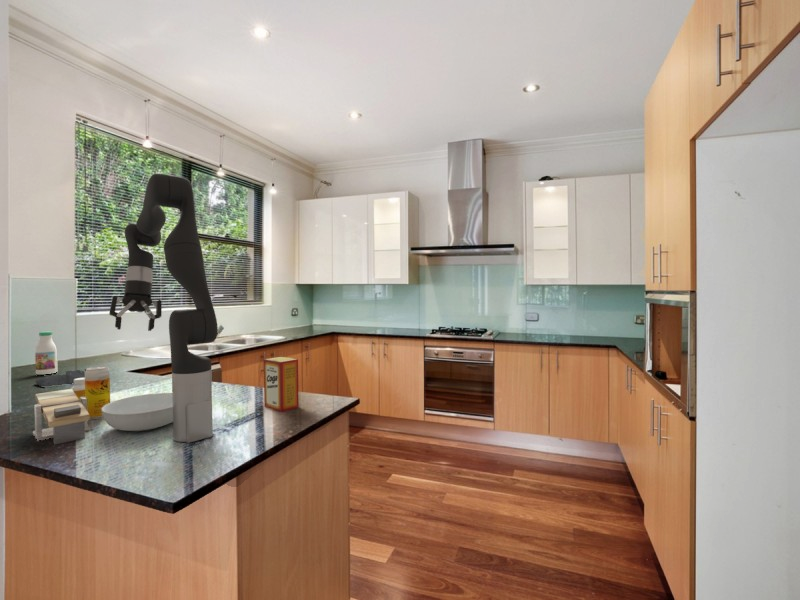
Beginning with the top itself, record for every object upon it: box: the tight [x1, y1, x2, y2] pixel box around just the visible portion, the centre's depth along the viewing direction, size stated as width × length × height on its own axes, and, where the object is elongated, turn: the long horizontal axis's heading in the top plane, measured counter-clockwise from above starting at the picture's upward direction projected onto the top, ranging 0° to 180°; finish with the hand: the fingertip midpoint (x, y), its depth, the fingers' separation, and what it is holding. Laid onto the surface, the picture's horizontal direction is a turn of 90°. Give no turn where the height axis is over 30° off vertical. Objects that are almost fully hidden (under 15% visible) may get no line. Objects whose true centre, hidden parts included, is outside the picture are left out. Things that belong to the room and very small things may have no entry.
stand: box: [32, 397, 91, 445], centre depth 108 cm, size 14×11×8 cm
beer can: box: [84, 365, 111, 420], centre depth 124 cm, size 6×6×15 cm
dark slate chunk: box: [34, 368, 87, 387], centre depth 174 cm, size 15×22×5 cm
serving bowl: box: [101, 392, 173, 432], centre depth 115 cm, size 21×21×7 cm
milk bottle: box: [34, 331, 59, 375], centre depth 190 cm, size 8×8×20 cm
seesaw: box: [34, 388, 90, 428], centre depth 110 cm, size 22×8×3 cm, turn 49°
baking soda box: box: [263, 356, 300, 413], centre depth 133 cm, size 10×6×16 cm
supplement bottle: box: [70, 378, 85, 400], centre depth 134 cm, size 5×5×10 cm
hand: (134, 330), depth 133 cm, fingers open, 8 cm apart
